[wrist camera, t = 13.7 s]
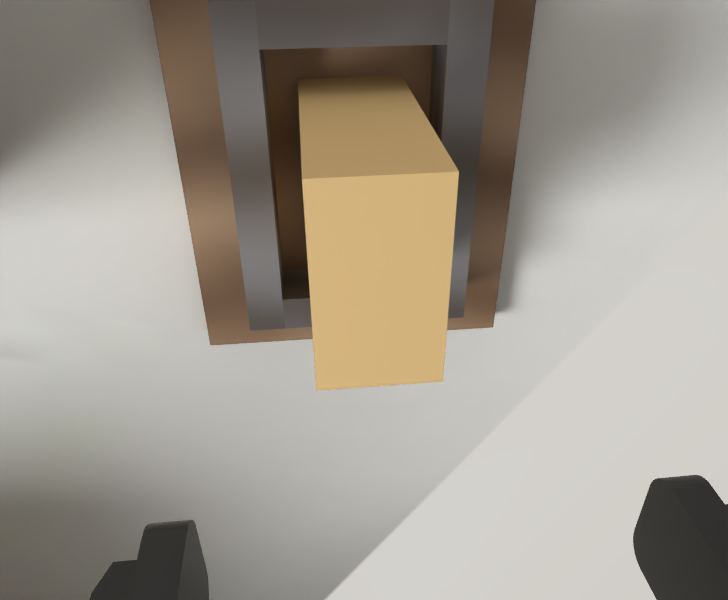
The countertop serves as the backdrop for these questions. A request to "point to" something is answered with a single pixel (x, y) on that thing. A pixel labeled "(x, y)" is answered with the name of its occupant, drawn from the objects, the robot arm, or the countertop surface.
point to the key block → (375, 232)
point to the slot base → (282, 136)
